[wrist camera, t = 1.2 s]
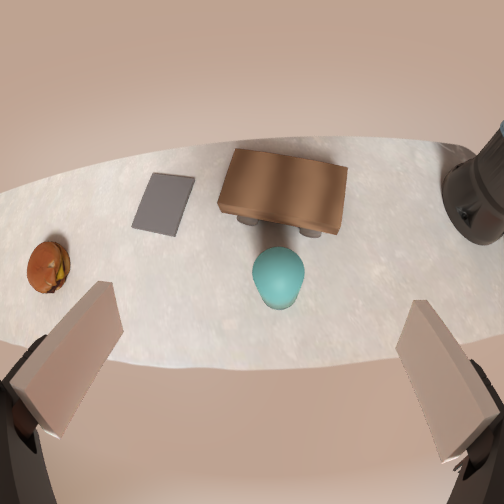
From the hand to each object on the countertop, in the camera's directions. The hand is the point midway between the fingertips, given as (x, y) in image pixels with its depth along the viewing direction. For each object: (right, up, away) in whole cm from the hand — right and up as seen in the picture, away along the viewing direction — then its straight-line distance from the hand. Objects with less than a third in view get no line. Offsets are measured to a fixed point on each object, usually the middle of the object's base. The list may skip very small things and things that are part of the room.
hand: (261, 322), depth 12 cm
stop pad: (-15, +11, +33) cm, 38 cm away
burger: (-37, -1, +33) cm, 49 cm away
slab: (+4, +10, +31) cm, 33 cm away
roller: (+3, -3, +27) cm, 28 cm away
